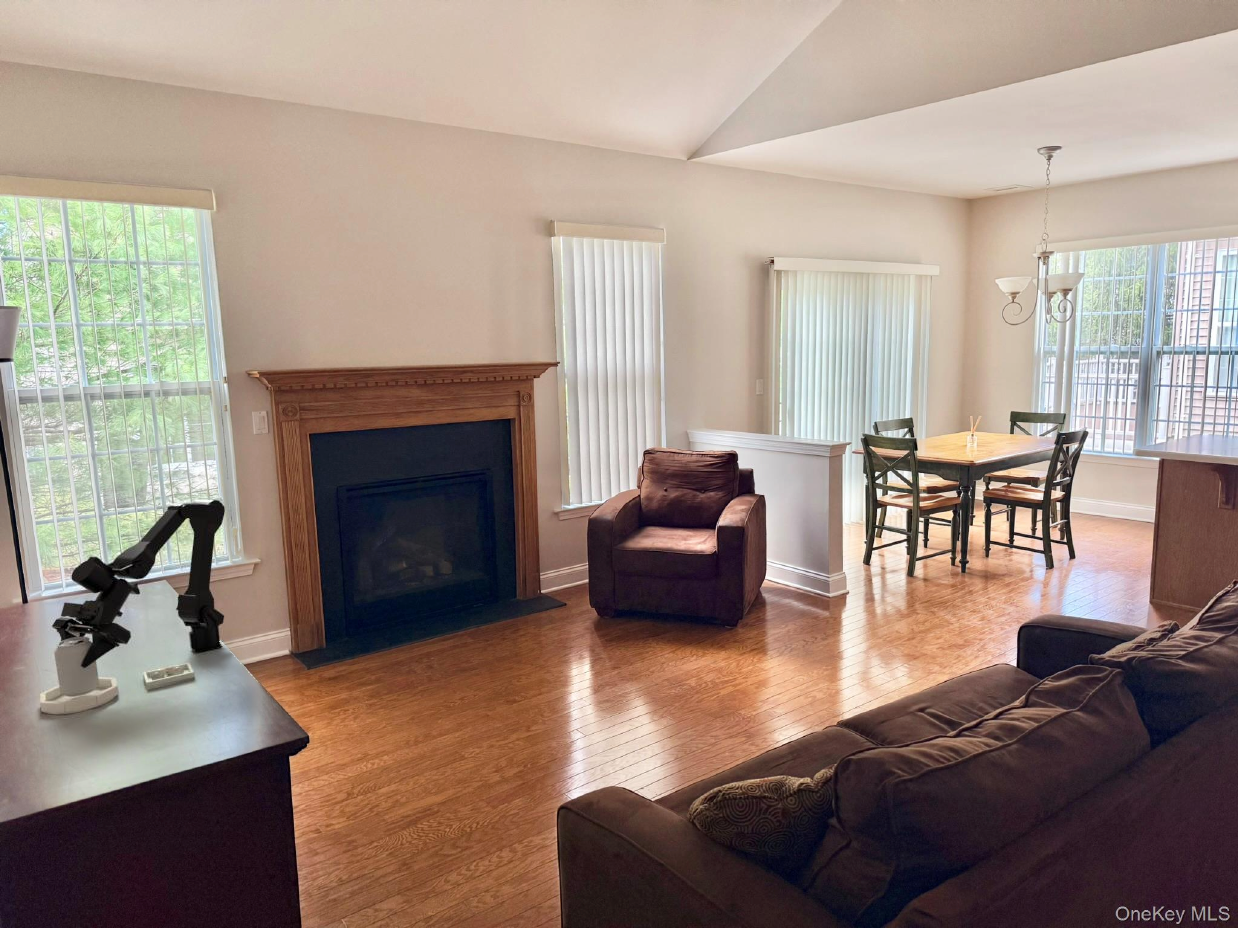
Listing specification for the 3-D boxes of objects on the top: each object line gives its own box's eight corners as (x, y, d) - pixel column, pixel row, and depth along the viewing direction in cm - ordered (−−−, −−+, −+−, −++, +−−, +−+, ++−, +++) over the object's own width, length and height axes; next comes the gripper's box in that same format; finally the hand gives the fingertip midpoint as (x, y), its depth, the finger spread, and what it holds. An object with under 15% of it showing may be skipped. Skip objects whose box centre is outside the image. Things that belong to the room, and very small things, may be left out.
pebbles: (182, 670, 205) (181, 660, 204) (185, 676, 200) (184, 667, 200) (150, 677, 201) (148, 667, 200) (152, 684, 196) (151, 674, 196)
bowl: (115, 682, 200) (114, 672, 200) (120, 702, 188) (118, 691, 188) (41, 698, 192) (40, 687, 191) (41, 720, 180) (40, 709, 179)
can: (93, 695, 187) (85, 643, 185) (55, 700, 185) (47, 648, 184) (104, 682, 194) (97, 632, 192) (68, 687, 192) (60, 637, 191)
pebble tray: (189, 669, 207) (189, 662, 206) (194, 679, 200) (193, 671, 200) (143, 679, 201) (142, 672, 201) (147, 689, 195) (146, 682, 194)
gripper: (54, 583, 193) (12, 646, 185) (112, 588, 187) (72, 654, 178) (90, 606, 202) (52, 666, 193) (147, 611, 195) (110, 675, 187)
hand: (70, 665), depth 188 cm, fingers closed on can, 7 cm apart
